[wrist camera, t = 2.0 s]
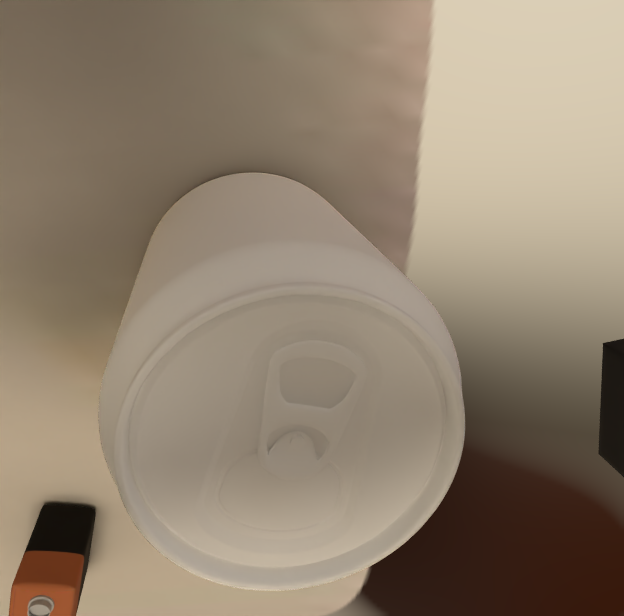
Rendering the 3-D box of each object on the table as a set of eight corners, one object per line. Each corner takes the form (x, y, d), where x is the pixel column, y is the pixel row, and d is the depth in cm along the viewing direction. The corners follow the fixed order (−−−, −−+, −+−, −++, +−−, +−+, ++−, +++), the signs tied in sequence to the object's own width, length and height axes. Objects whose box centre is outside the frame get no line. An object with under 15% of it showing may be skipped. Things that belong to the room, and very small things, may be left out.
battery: (35, 564, 26) (-1, 668, 21) (43, 500, 25) (6, 595, 20) (88, 567, 26) (63, 669, 22) (97, 504, 25) (73, 598, 21)
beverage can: (129, 352, 23) (60, 598, 12) (165, 145, 21) (120, 215, 10) (324, 383, 25) (419, 618, 14) (378, 197, 23) (545, 305, 12)
